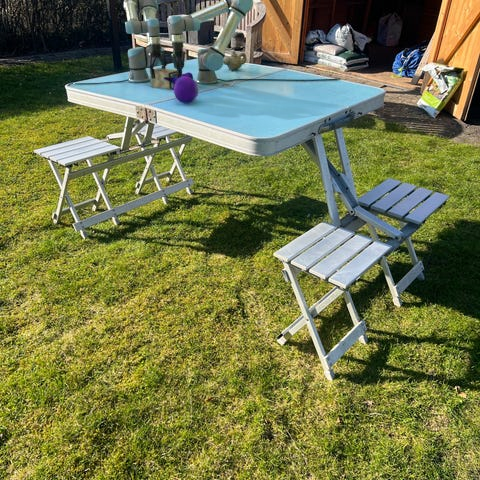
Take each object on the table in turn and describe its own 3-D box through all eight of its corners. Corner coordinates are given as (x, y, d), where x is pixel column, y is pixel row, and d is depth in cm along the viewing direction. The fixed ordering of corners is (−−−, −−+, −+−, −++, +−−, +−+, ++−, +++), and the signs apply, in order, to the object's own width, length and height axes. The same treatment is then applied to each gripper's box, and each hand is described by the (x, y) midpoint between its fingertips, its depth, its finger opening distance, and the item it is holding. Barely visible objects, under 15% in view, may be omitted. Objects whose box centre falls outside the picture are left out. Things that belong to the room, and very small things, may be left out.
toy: (187, 94, 295) (198, 108, 275) (161, 90, 288) (170, 104, 267) (192, 70, 287) (203, 83, 267) (165, 65, 280) (175, 77, 259)
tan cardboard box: (179, 86, 319) (178, 70, 314) (169, 89, 312) (168, 72, 306) (161, 84, 328) (159, 68, 322) (151, 86, 321) (149, 70, 315)
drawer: (188, 86, 314) (187, 72, 310) (179, 89, 308) (178, 75, 303) (164, 83, 325) (163, 70, 321) (155, 85, 319) (154, 72, 314)
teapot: (227, 72, 362) (226, 52, 355) (220, 70, 371) (219, 51, 363) (249, 69, 371) (249, 50, 364) (242, 67, 380) (242, 48, 372)
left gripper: (147, 45, 298) (151, 80, 310) (170, 41, 315) (173, 74, 326) (139, 45, 302) (143, 79, 313) (162, 41, 318) (165, 73, 330)
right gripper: (175, 43, 291) (178, 80, 303) (188, 40, 300) (190, 77, 312) (166, 42, 294) (169, 79, 306) (179, 40, 304) (182, 76, 316)
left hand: (158, 77), depth 320 cm, fingers closed on tan cardboard box, 10 cm apart
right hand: (180, 78), depth 309 cm, fingers closed
